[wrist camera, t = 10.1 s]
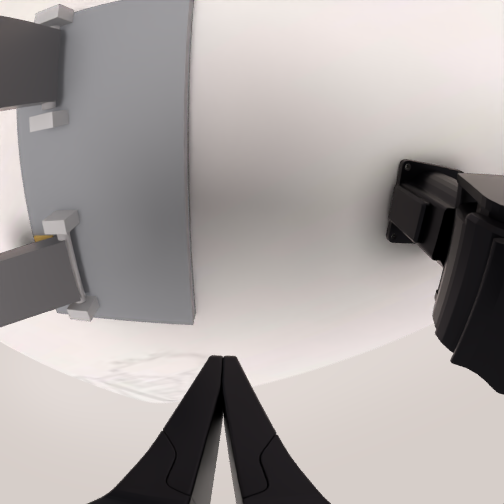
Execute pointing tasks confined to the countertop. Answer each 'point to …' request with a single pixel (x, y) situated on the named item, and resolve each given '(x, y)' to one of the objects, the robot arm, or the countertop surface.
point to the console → (117, 158)
